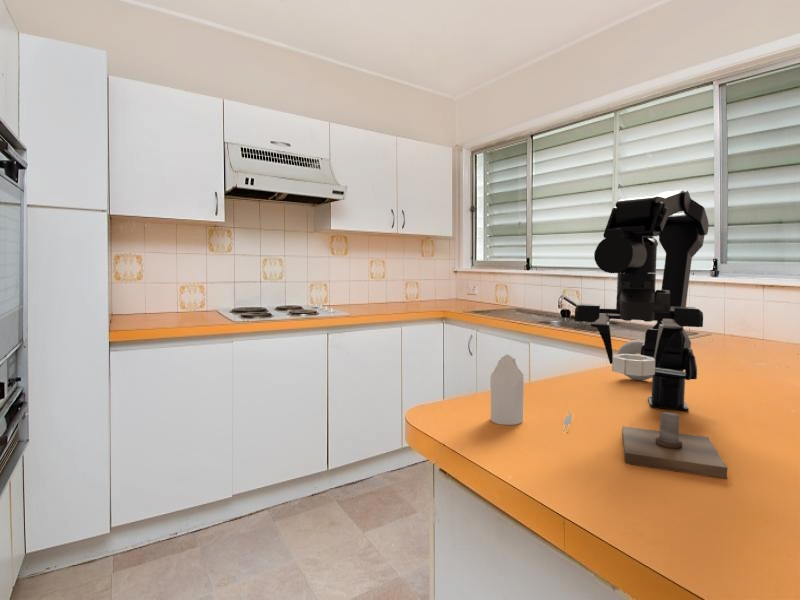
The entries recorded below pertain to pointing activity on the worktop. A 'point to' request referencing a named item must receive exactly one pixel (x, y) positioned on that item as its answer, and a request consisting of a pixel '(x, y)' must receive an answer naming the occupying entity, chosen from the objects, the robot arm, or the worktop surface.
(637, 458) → the peg stand
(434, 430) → the worktop surface
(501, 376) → the grey bullet shape
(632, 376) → the donut
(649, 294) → the robot arm
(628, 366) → the ring
